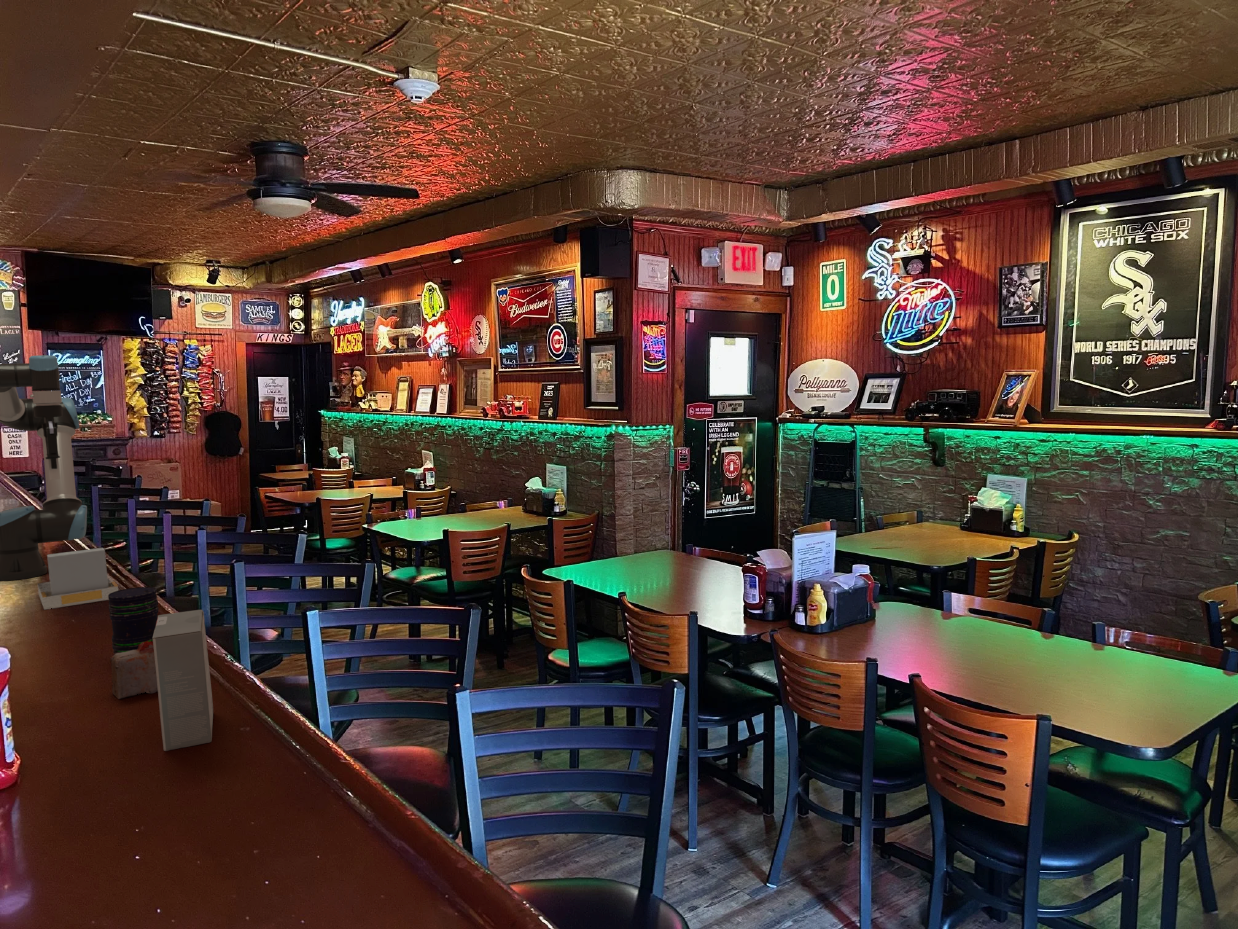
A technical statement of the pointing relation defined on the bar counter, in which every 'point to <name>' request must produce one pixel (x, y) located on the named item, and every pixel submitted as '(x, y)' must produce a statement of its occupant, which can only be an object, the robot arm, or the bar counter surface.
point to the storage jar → (132, 617)
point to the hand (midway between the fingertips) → (54, 478)
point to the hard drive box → (183, 679)
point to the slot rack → (74, 595)
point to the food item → (134, 671)
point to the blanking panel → (77, 571)
